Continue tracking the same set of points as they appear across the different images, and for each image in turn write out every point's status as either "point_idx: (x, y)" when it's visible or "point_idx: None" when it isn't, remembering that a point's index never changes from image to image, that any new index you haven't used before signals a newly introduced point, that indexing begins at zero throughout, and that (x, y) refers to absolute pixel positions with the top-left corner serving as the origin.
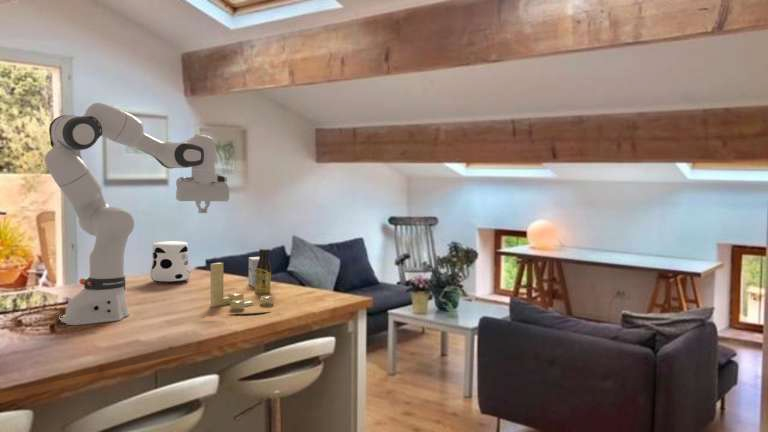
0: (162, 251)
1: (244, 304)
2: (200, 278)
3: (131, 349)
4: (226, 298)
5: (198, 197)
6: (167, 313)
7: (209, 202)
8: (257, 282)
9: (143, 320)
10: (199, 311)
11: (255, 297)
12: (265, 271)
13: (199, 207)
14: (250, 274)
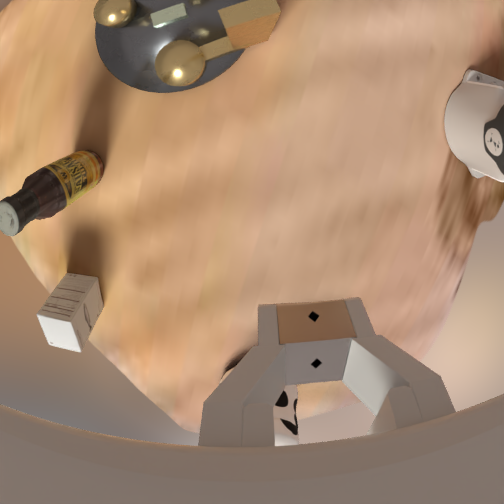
0: (286, 423)
1: (179, 4)
2: (194, 386)
3: None
4: (216, 40)
5: (495, 463)
6: (376, 67)
7: (215, 432)
8: (83, 168)
9: (433, 39)
10: (299, 43)
11: (107, 153)
12: (47, 166)
13: (388, 345)
14: (91, 307)
